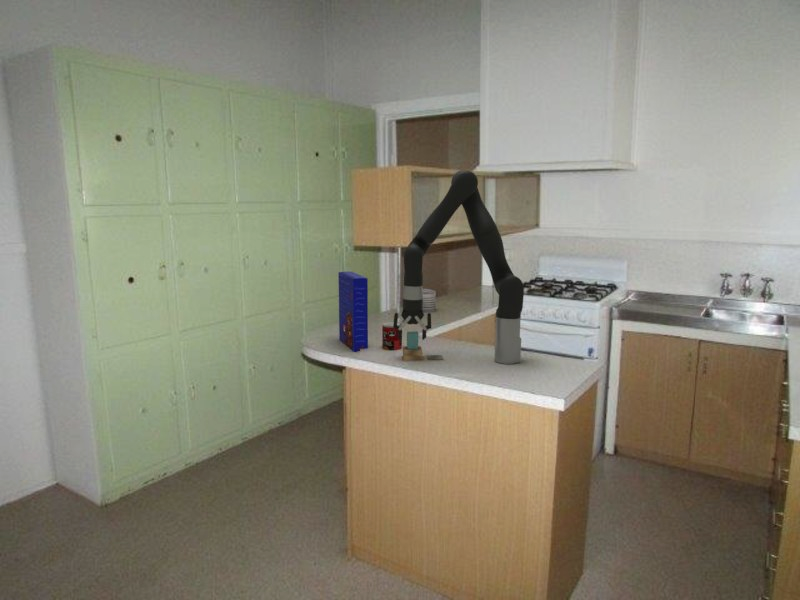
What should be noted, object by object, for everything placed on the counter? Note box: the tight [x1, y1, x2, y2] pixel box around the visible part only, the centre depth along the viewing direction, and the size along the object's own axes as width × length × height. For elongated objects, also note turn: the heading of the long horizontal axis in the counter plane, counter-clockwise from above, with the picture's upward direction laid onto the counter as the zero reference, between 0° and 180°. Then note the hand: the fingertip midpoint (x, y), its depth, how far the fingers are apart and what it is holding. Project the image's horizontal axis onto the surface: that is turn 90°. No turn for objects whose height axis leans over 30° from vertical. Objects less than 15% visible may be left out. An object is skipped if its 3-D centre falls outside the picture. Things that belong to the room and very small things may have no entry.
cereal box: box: [338, 270, 369, 353], centre depth 247 cm, size 22×6×30 cm, turn 21°
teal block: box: [406, 330, 419, 350], centre depth 226 cm, size 4×4×10 cm
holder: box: [401, 345, 445, 362], centre depth 227 cm, size 16×7×5 cm, turn 93°
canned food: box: [381, 321, 403, 351], centre depth 241 cm, size 8×8×11 cm
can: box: [423, 288, 437, 314], centre depth 322 cm, size 11×11×12 cm
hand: (412, 339), depth 225 cm, fingers open, 8 cm apart
